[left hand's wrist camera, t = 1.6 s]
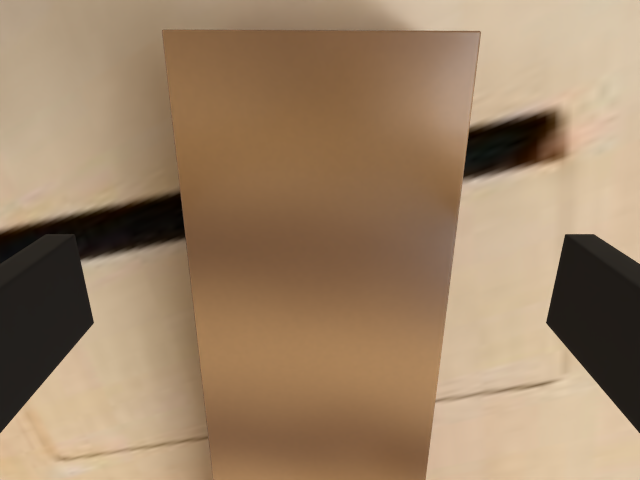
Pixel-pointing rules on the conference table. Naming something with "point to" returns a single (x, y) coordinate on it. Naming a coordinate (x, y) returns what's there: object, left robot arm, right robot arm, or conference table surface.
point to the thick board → (320, 240)
